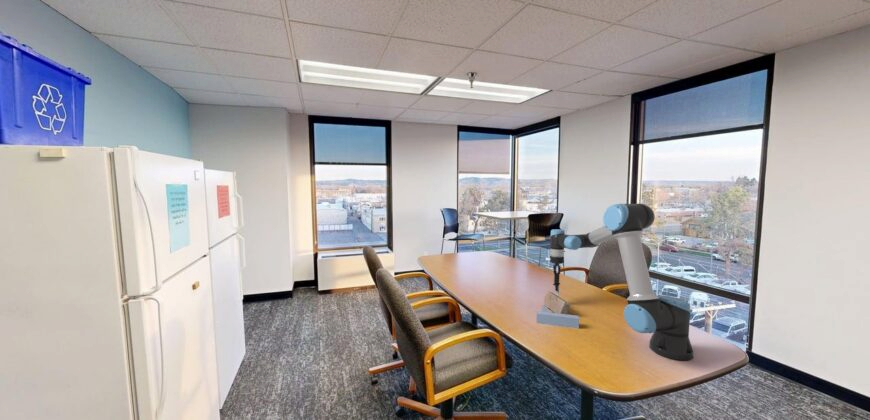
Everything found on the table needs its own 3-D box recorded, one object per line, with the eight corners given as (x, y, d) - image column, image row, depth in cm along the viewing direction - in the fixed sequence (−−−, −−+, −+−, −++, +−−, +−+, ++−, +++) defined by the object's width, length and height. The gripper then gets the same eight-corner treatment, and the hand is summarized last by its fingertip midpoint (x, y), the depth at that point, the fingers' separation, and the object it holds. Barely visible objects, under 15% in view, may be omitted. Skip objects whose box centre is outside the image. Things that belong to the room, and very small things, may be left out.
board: (578, 328, 160) (579, 318, 160) (536, 323, 167) (536, 313, 166) (576, 319, 172) (577, 310, 171) (537, 314, 178) (537, 305, 178)
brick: (571, 303, 174) (564, 302, 172) (566, 318, 174) (559, 316, 173) (553, 292, 189) (546, 290, 188) (548, 305, 190) (541, 303, 189)
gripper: (564, 258, 181) (563, 299, 183) (563, 254, 194) (562, 293, 195) (550, 257, 184) (549, 298, 185) (550, 253, 196) (549, 291, 197)
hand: (556, 295), depth 190 cm, fingers closed
